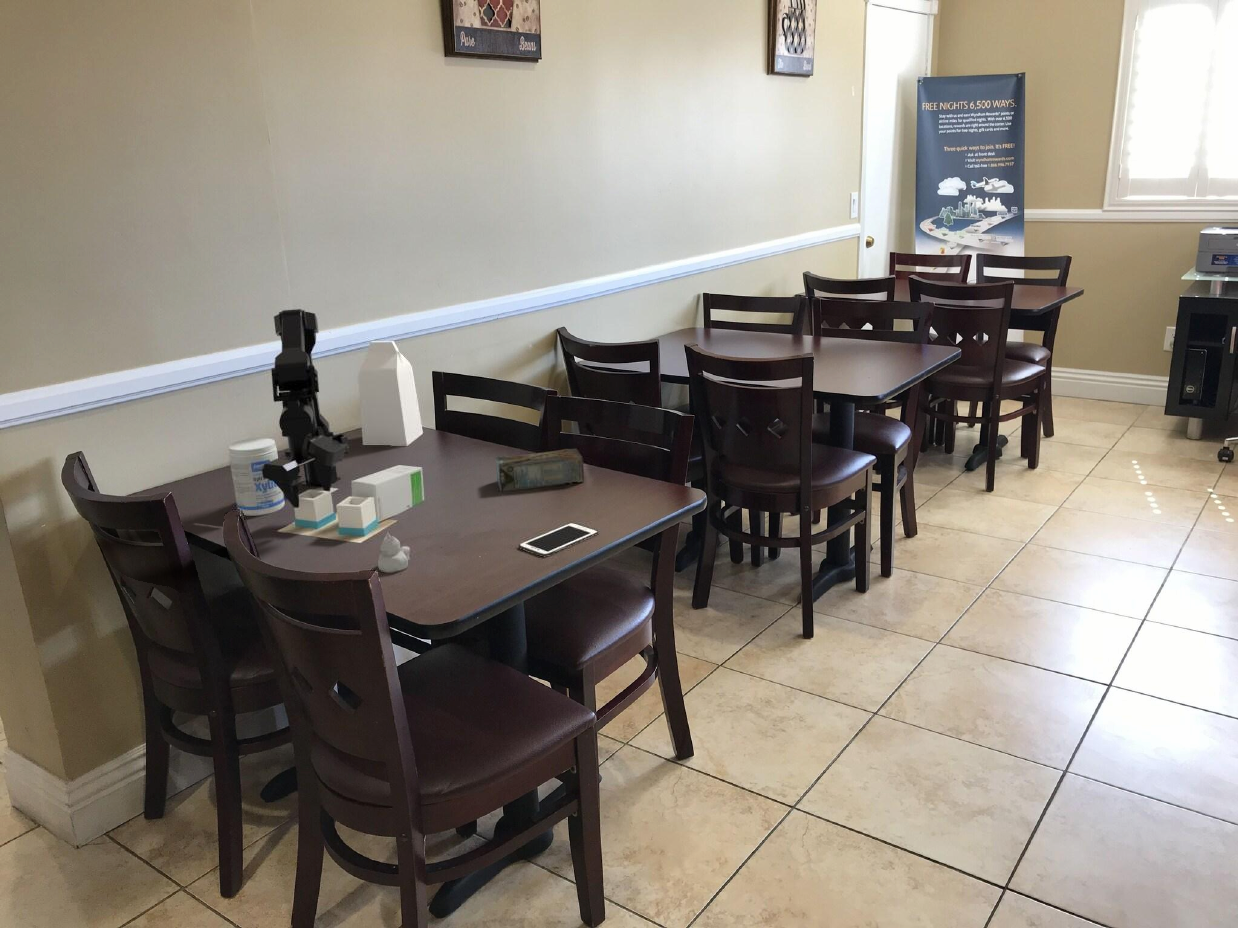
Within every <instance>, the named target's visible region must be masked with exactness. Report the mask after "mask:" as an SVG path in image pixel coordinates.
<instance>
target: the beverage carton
mask: <svg viewBox="0 0 1238 928" xmlns="http://www.w3.org/2000/svg"><path fill="white" fill-rule="evenodd" d="M495 466H496V467H495V469H496V478H497V479H496V480H497V483H498V486H499V489H500V492H506V491H516V490H527V489H537V488H542V487H544V488H545V487H550V486H551V487H552V486H558V485H559V486H560V485H566V484H565V483H569V484H573V483H572V482H578V483H584V482H585V472H584V459H583V456H582V455H581V453H580V451H579V450H578V449H577V447H576V448H565V449H564V448H563V449H559V450H553V451H544V452H537V453H529V454H519V455H509V456H499V457H498V456H497V457H495Z"/></svg>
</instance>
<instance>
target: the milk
mask: <svg viewBox="0 0 1238 928" xmlns="http://www.w3.org/2000/svg"><path fill="white" fill-rule="evenodd" d="M357 378H358V380H357V382H358V394H359V407H360V422H361V435H362V446H363V445H391V446H390V447H392V446H393V447H394V446H395V447H407V446H409V445H410V444H411V443H413V442H414V441H415V440H417V439H418V438H419V437H420V436H422V435H423V434H424V431H423V425H422V418H421V414H420V406H419V400H418V395H417V387H416V384H415V377H414V371H413V367H412V364H411V363H410V361H409V360H408V359H407V358H406V357H405V356H404V355H403V354H402V353H401V352H400V350H399V348H398V345H396V343H395V340H372V341H370V342H369V345H368V348H367V353H366V354H365V356H364V358H363V362H362V363H361V365H360V367H359V371H358V375H357Z"/></svg>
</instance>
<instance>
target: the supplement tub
mask: <svg viewBox="0 0 1238 928" xmlns="http://www.w3.org/2000/svg"><path fill="white" fill-rule="evenodd" d="M227 449H228V458H229V460H228V461H229V465H230V472H231V477H232V483H233V489H234V495H235V501H236V507H237V510H238V509H240V510H242V511H243V513H244V515H243V516H247V517H250V516H255V517H256V516H264V515H269V514H273V513H275V512H278V511H280V510H282V509H283V508H284V506H285V495H284V493H283V492H282V491H281V489H280V488H279V487H278V486H277V485H276V484H275V483H274V482H273V481H269V480H268V479H265V478H263V474H262V467H263V465H264V464H265V463H268V462H270V461H273V460H275V459H279V456H278V455H279V454H278V450H277V446H276V442H275V440H274V439H273V438H267V437H256V438H248V439H242V440H238V441H235V442H233V443H231V444H229V446H228V448H227Z"/></svg>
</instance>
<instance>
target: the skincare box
mask: <svg viewBox="0 0 1238 928" xmlns="http://www.w3.org/2000/svg"><path fill="white" fill-rule="evenodd" d="M350 485H351V486H350V488H351V496H357V497H374V505H375V512H376V518H378V522H380V521H383V520H385V519H391V518H393V517H395V516H397V515H399V514H401V513H403V512H405V511H407V510H408V509H410V508H412V507H414V506H416V505H418V504H419V503H422V502H423V501H425V491H424V477H423V467H421V466H412V465H411V466H410V465H401V464H397V465H395V466H391V467H388V468H386V469H383V470H380V471H377V472H375V473H372V474H368V475H366V476H362V477H359V478H357V479H355V480H351V481H350Z"/></svg>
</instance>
